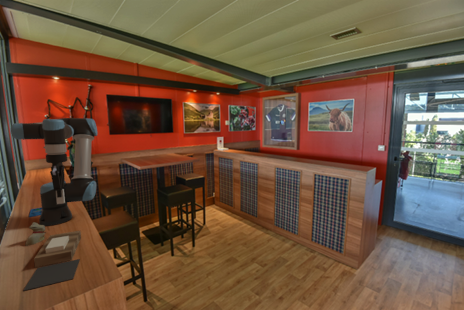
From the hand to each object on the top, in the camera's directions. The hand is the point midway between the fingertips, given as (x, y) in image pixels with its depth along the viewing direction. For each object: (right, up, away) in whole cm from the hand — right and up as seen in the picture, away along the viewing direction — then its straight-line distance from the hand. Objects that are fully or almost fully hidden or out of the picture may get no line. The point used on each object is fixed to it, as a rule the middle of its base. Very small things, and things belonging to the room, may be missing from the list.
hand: (61, 203), depth 100 cm
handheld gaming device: (-46, -15, +39) cm, 62 cm away
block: (+4, -17, -7) cm, 19 cm away
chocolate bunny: (-16, -20, +4) cm, 26 cm away
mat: (+12, -23, -18) cm, 32 cm away
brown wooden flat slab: (+3, -21, -4) cm, 21 cm away
